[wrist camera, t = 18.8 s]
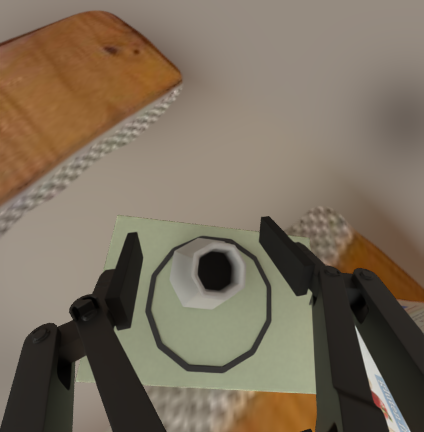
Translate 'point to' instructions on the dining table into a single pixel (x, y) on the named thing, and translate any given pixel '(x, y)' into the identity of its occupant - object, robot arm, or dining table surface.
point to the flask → (207, 273)
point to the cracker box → (382, 397)
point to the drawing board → (213, 318)
